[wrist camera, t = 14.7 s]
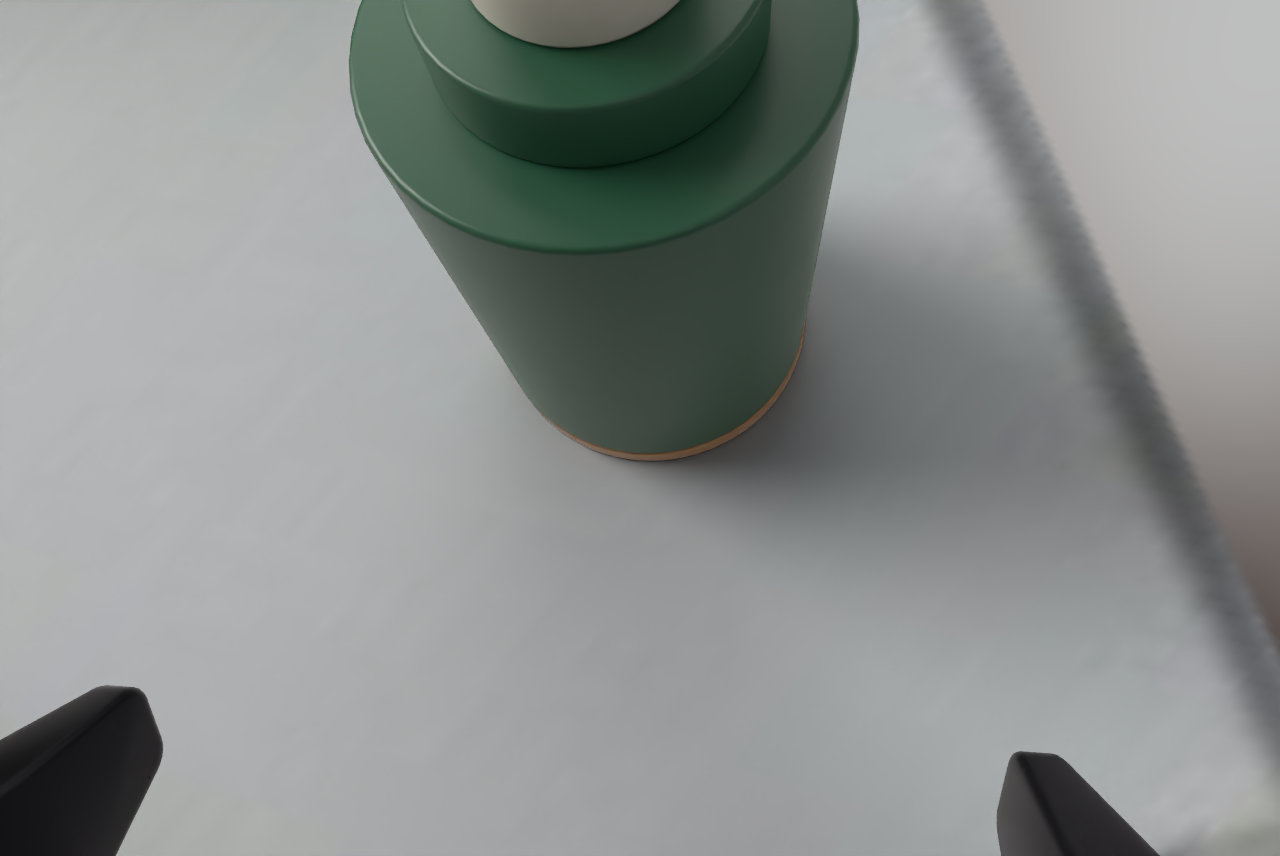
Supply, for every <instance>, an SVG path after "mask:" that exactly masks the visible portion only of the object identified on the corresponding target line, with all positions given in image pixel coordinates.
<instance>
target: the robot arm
mask: <svg viewBox="0 0 1280 856" xmlns="http://www.w3.org/2000/svg"><path fill="white" fill-rule="evenodd" d="M162 754H163V742H162V738H161V735H160V733H159V730H158V727H157V725H156V722H155V719H154V716H153V714H152V711H151V708H150V705H149V703H148V700H147V698H146V696H145V694H144V693H143V692H142V691H141V690H140V689H138V688H135V687H123V686H109V685H107V686H100V687H97V688H95V689H93V690H91V691H89V692H87V693H85V694H84V695H82V696H80V697H78V698H76V699H74V700H73V701H71V702H69V703H67V704H65V705H63V706H62V707H60V708H58V709H56V710H54V711H52V712H51V713H49V714H47V715H45V716H43V717H42V718H40V719H38V720H36V721H34V722H32V723H31V724H29V725H27V726H25V727H23V728H21V729H20V730H18V731H16V732H14V733H12V734H10V735H9V736H7V737H5V738H3V739H1V740H0V856H116V854H117V852H118V850H119V848H120V846H121V844H122V842H123V840H124V837H125V835H126V833H127V831H128V829H129V827H130V825H131V823H132V821H133V819H134V817H135V815H136V813H137V811H138V809H139V807H140V805H141V803H142V801H143V799H144V797H145V795H146V792H147V790H148V788H149V786H150V784H151V782H152V780H153V778H154V776H155V774H156V772H157V770H158V768H159V765H160V762H161V759H162ZM997 833H998V839H999V845H1000V851H1001V856H1160V855H1159V854H1158V853H1157V852H1156V851H1155V850H1154V849H1153V848H1152V847H1151V846H1150V845H1149V844H1148V843H1147V842H1146V841H1145V840H1144V839H1143V838H1142V837H1141V836H1140V835H1139V834H1138V833H1137V832H1136V831H1135V830H1134V829H1133V828H1132V827H1131V826H1130V825H1129V824H1128V823H1127V822H1126V821H1125V820H1124V819H1123V818H1122V817H1121V816H1120V815H1119V814H1118V813H1117V812H1116V811H1115V810H1114V809H1113V808H1112V807H1111V806H1110V805H1109V804H1108V803H1107V802H1106V801H1105V800H1104V799H1103V798H1102V797H1101V796H1100V795H1099V794H1098V793H1097V792H1096V791H1095V790H1094V789H1093V788H1092V787H1091V786H1090V785H1089V784H1088V783H1087V782H1086V781H1085V780H1084V779H1083V778H1082V777H1081V776H1080V775H1079V774H1078V773H1077V772H1076V771H1075V770H1074V769H1073V768H1072V767H1071V766H1070V765H1069V764H1068V763H1067V762H1066V761H1065V760H1064V759H1062V758H1061V757H1059V756H1058V755H1055V754H1050V753H1036V752H1022V751H1020V752H1016V753H1014V754H1013V755H1012V756H1011V758H1010V760H1009V763H1008V767H1007V771H1006V775H1005V780H1004V784H1003V788H1002V792H1001V796H1000V801H999V805H998V810H997Z"/></svg>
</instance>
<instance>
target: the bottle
mask: <svg viewBox="0 0 1280 856" xmlns="http://www.w3.org/2000/svg"><path fill="white" fill-rule="evenodd" d="M858 42H859V12H858V5H857V0H362V2H361V4H360V7H359V9H358V13H357V17H356V20H355V24H354V28H353V32H352V37H351V47H350V56H349V73H350V92H351V97H352V101H353V106H354V111H355V115H356V119H357V121H358V124H359V126H360V129H361V131H362V134H363V137H364V139H365V142H366V144H367V145H368V147H369V149H370V150H371V152H372V154H373V155H374V157H375V159H376V160H377V162H378V164H379V165H380V167H381V169H382V170H383V172H384V173H385V175H386V176H387V178H388V180H389V181H390V183H391V184H392V186H393V187H394V189H395V191H396V192H397V194H398V195H399V197H400V198H401V200H402V202H403V203H404V205H405V206H406V208H407V209H408V211H409V213H410V214H411V216H412V217H413V219H414V220H415V222H416V223H417V225H418V227H419V228H420V230H421V231H422V233H423V234H424V236H425V238H426V239H427V241H428V242H429V244H430V245H431V247H432V249H433V250H434V252H435V253H436V255H437V256H438V258H439V260H440V261H441V263H442V264H443V266H444V267H445V269H446V271H447V272H448V274H449V275H450V277H451V278H452V280H453V282H454V283H455V285H456V286H457V288H458V289H459V291H460V293H461V294H462V296H463V297H464V299H465V300H466V302H467V304H468V305H469V307H470V308H471V310H472V311H473V313H474V314H475V316H476V318H477V319H478V321H479V322H480V324H481V325H482V327H483V329H484V330H485V332H486V333H487V335H488V336H489V338H490V340H491V341H492V343H493V344H494V346H495V347H496V349H497V351H498V352H499V354H500V355H501V357H502V358H503V360H504V362H505V363H506V365H507V366H508V368H509V369H510V371H511V373H512V374H513V376H514V377H515V379H516V380H517V382H518V384H519V385H520V387H521V388H522V390H523V391H524V393H525V394H526V396H527V397H528V398H529V399H530V400H531V402H532V403H533V404H534V405H535V407H536V408H537V409H538V410H539V411H540V412H542V413H543V414H544V415H545V416H546V417H547V418H548V419H549V420H550V421H552V422H553V423H554V424H556V425H557V426H559V427H560V428H562V429H563V430H565V431H566V432H568V433H570V434H572V435H574V436H576V437H578V438H580V439H582V440H584V441H586V442H589V443H592V444H595V445H597V446H600V447H603V448H608V449H613V450H617V451H622V452H632V453H663V452H670V451H676V450H682V449H687V448H690V447H693V446H697V445H700V444H703V443H706V442H709V441H711V440H713V439H715V438H717V437H720V436H722V435H724V434H726V433H728V432H729V431H731V430H732V429H734V428H736V427H737V426H739V425H741V424H742V423H744V422H745V421H746V420H747V419H749V418H750V417H751V416H752V415H753V414H755V413H756V412H757V411H758V410H759V409H760V408H761V407H762V406H763V405H764V404H765V403H766V402H767V401H768V400H769V399H770V398H771V397H772V396H773V394H774V393H775V392H776V390H777V389H778V387H779V386H780V385H781V383H782V382H783V381H784V379H785V377H786V375H787V373H788V371H789V370H790V368H791V366H792V364H793V362H794V359H795V356H796V354H797V351H798V348H799V345H800V341H801V336H802V331H803V326H804V321H805V316H806V311H807V306H808V301H809V296H810V291H811V285H812V280H813V275H814V270H815V265H816V260H817V255H818V250H819V245H820V240H821V235H822V229H823V224H824V219H825V214H826V209H827V204H828V199H829V194H830V189H831V184H832V179H833V173H834V168H835V163H836V158H837V153H838V148H839V143H840V138H841V133H842V128H843V123H844V117H845V112H846V107H847V102H848V97H849V92H850V87H851V82H852V77H853V72H854V67H855V61H856V56H857V51H858Z"/></svg>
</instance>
